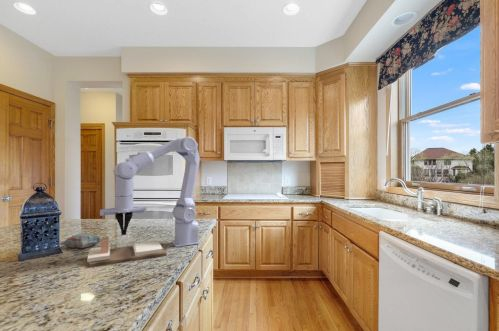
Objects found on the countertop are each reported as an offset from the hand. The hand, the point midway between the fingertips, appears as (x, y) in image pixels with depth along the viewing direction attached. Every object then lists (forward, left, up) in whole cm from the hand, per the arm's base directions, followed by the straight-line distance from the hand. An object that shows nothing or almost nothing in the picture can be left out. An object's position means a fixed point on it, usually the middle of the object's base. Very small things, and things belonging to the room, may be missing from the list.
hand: (123, 234), depth 86 cm
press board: (-2, 0, -8) cm, 8 cm away
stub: (+7, 0, -6) cm, 9 cm away
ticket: (-8, 0, -8) cm, 11 cm away
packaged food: (+14, -18, -8) cm, 24 cm away
